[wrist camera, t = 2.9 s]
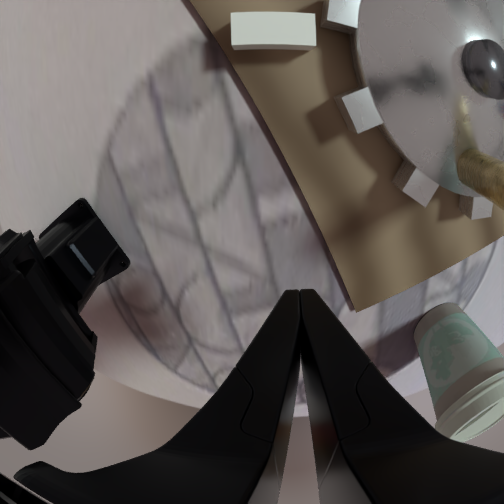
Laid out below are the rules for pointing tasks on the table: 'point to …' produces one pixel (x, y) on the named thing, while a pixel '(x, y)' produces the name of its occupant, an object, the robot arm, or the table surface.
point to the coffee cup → (460, 372)
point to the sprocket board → (347, 162)
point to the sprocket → (430, 91)
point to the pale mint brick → (273, 30)
